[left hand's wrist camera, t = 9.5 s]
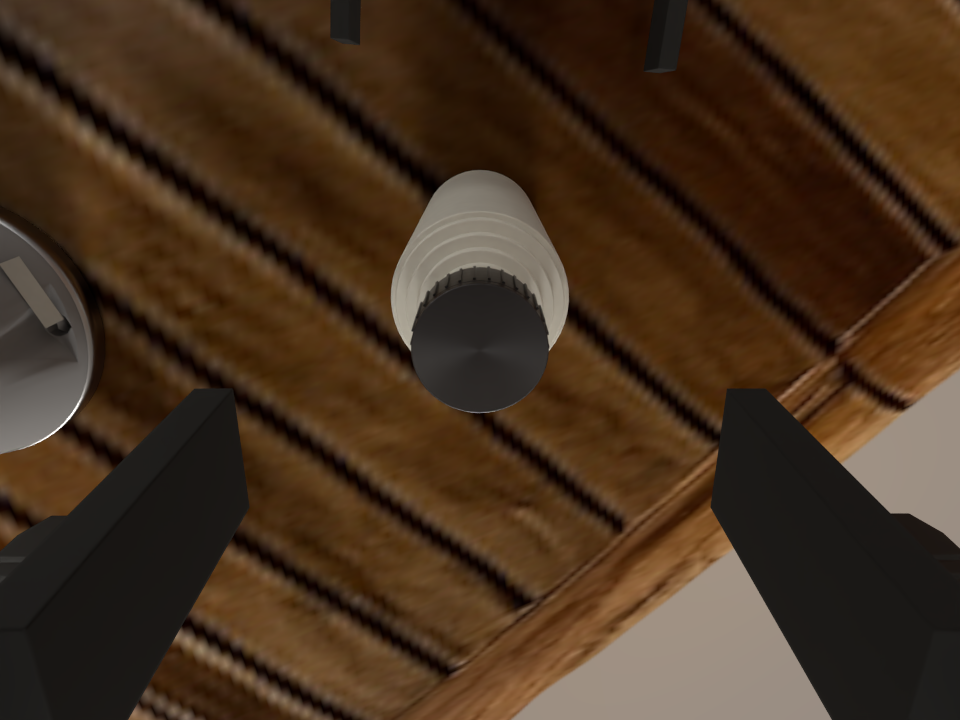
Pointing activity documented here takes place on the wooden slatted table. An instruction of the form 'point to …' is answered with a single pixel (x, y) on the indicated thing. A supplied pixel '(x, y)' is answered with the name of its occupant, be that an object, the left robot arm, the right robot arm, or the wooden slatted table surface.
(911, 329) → the wooden slatted table surface
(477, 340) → the cap
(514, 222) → the bottle
